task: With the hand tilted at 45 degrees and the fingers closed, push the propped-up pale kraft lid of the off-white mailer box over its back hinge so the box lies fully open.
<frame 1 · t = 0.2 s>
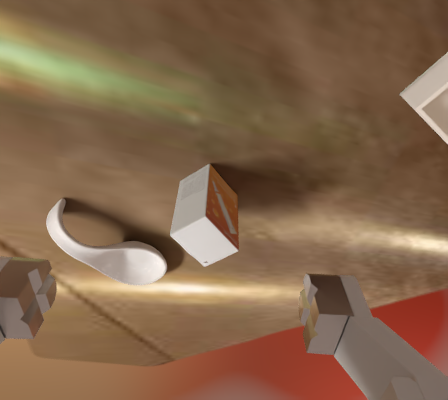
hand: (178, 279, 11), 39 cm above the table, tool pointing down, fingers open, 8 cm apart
spoon rest: (113, 236, 66), on the table
small box: (209, 187, 58), on the table
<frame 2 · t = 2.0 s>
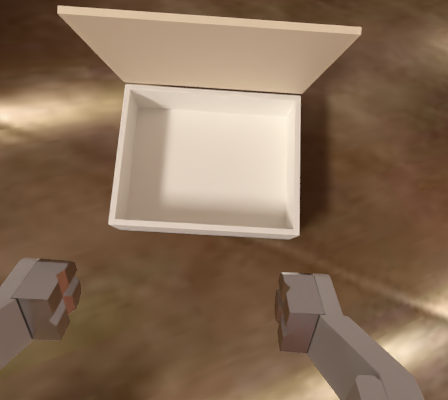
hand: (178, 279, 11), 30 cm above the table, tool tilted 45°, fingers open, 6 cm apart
mailer lid: (212, 61, 31), point 13 cm above the table, hinge at 75.0°
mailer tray: (209, 169, 43), on the table
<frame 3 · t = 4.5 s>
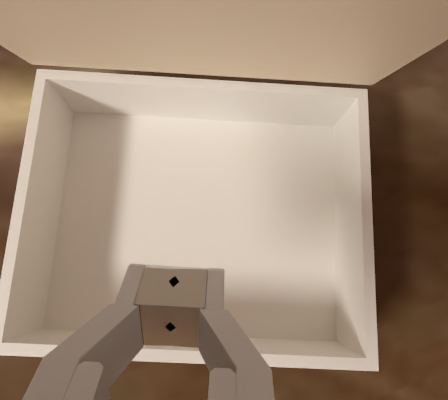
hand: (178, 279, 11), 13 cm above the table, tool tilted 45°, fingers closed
mailer lid: (195, 0, 12), point 13 cm above the table, hinge at 75.0°
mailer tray: (199, 221, 24), on the table
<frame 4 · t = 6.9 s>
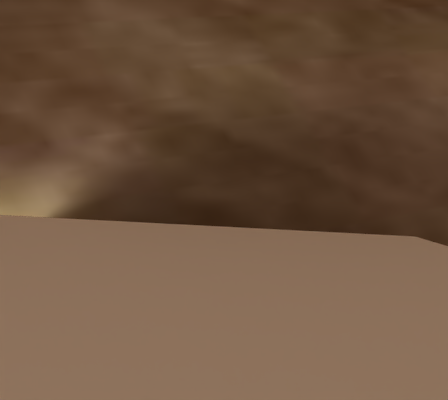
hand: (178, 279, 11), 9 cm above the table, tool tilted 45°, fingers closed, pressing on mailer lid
mailer lid: (156, 288, 7), point 13 cm above the table, hinge at 75.2°, touching gripper
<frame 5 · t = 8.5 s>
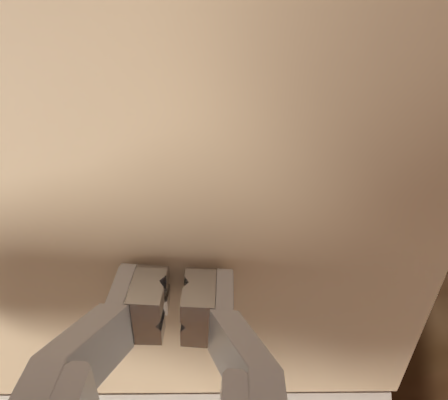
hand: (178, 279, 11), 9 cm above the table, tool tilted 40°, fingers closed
mailer lid: (144, 217, 10), point 10 cm above the table, hinge at 144.1°, touching gripper
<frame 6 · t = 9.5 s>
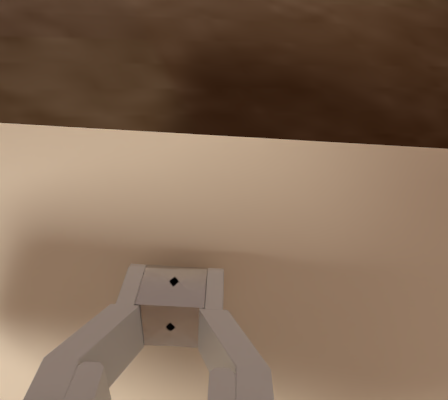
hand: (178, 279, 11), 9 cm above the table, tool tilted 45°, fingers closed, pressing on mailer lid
mailer lid: (168, 363, 12), point 8 cm above the table, hinge at 161.3°, touching gripper
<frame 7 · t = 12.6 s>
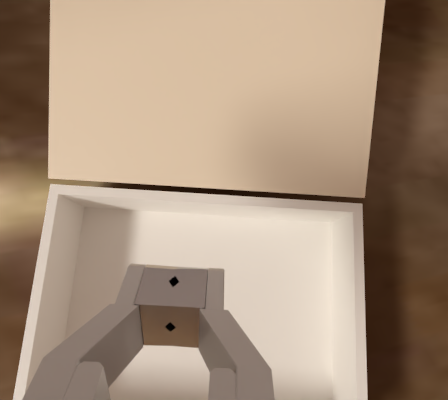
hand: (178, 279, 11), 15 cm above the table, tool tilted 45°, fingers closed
mailer lid: (214, 58, 21), point 8 cm above the table, hinge at 161.9°
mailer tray: (201, 315, 25), on the table
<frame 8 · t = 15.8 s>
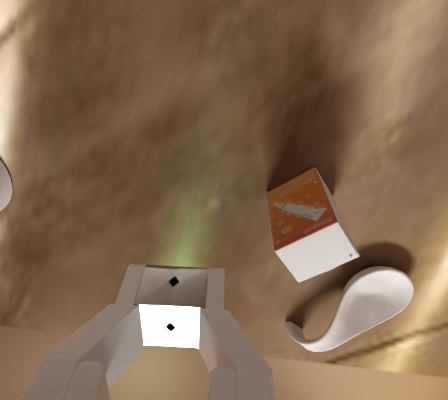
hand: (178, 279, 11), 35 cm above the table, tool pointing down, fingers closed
spoon rest: (342, 296, 63), on the table
small box: (299, 193, 51), on the table
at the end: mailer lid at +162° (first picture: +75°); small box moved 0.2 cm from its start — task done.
